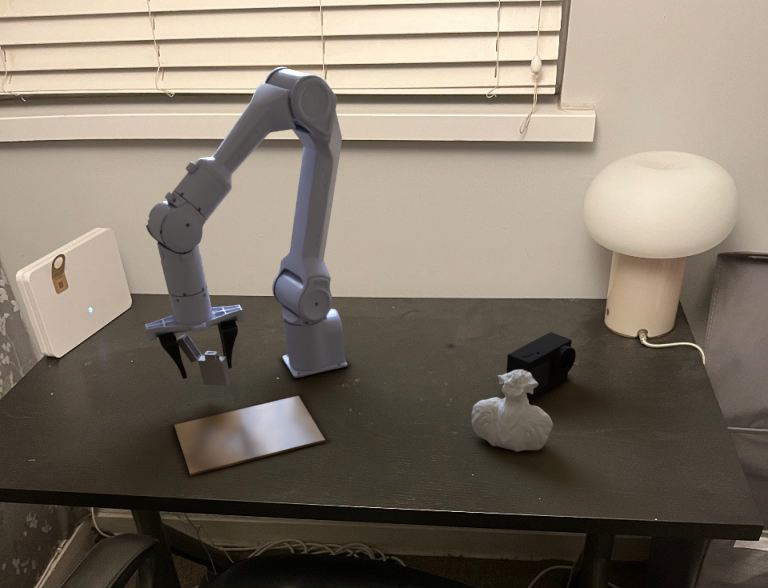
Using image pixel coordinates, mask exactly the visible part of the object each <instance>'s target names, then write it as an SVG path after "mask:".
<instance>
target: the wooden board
mask: <svg viewBox="0 0 768 588" xmlns="http://www.w3.org/2000/svg"><path fill="white" fill-rule="evenodd" d="M173 426H174V429H175V432H176V436H177V439H178V442H179V444H180V448H181V450H182V454H183V457H184V460H185V463H186V467H187V470H188V472H189V476H190V477H192V476H195V475H199V474H202V473H207V472H211V471H215V470H219V469H223V468H227V467H231V466H234V465H239V464H243V463H246V462H252V461H255V460H258V459H263V458H266V457H270V456H274V455H278V454H282V453H286V452H291V451H295V450H298V449H302V448H307V447H309V446H313V445H318V444H321V443H325V442H326V439H325V438H324V436H323V434H322V432H321V431H320V429H319V428H318V426H317V424H316V422H315V421H314V419H313V417H312V416H311V414H310V412H309V411H308V408H307V407H306V405H305V404H304V402H303V401H302V399H301V397H300V396H299V395H296V396H291V397H286V398H283V399H278V400H274V401H270V402H266V403H265V402H264V403H262V404H258V405H253V406H249V407H244V408H240V409H235V410H231V411H227V412H223V413H219V414H215V415H210V416H205V417H202V418H201V417H200V418H197V419H193V420H188V421H184V422H181V423H180V422H179V423H176V424H174V425H173Z"/></svg>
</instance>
